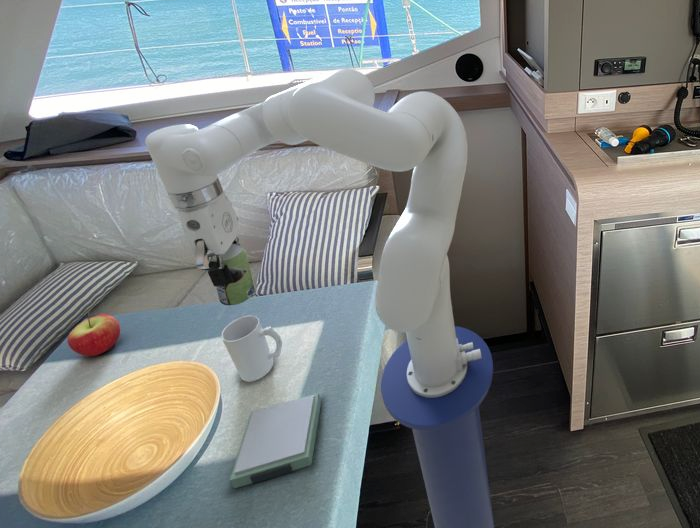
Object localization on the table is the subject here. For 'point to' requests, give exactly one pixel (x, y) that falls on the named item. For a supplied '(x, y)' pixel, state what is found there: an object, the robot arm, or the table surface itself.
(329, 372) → the table surface
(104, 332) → the apple
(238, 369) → the mug
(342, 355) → the table surface
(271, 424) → the scale
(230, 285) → the beverage can
